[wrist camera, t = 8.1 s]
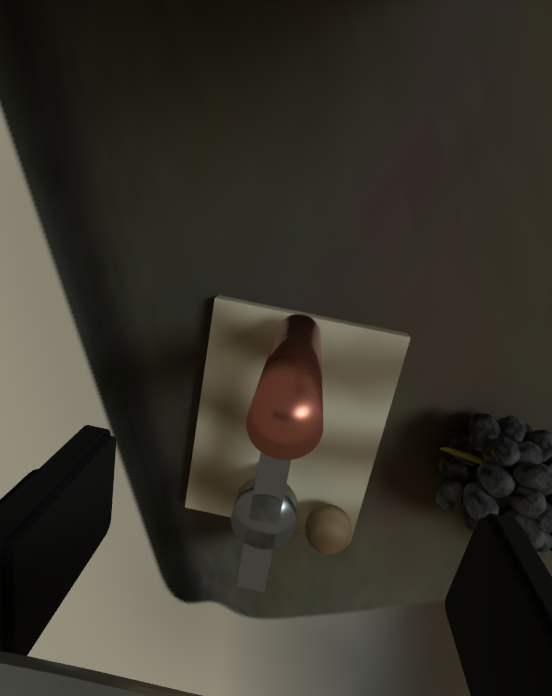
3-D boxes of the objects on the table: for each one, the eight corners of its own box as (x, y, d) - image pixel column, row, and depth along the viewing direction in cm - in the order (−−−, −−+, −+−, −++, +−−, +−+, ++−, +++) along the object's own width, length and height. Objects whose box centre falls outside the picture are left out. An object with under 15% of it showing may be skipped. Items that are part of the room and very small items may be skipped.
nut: (310, 490, 35) (309, 520, 31) (355, 499, 35) (359, 531, 31) (301, 526, 36) (299, 559, 32) (344, 535, 36) (347, 570, 32)
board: (218, 294, 32) (202, 307, 28) (407, 333, 31) (421, 352, 27) (188, 498, 37) (171, 536, 33) (349, 533, 37) (353, 576, 33)
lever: (270, 306, 29) (233, 379, 16) (335, 318, 29) (349, 402, 16) (231, 537, 35) (182, 724, 22) (285, 548, 35) (266, 743, 22)
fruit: (606, 464, 35) (448, 388, 33) (720, 509, 27) (521, 411, 25) (559, 560, 35) (400, 489, 33) (659, 633, 27) (455, 545, 25)
